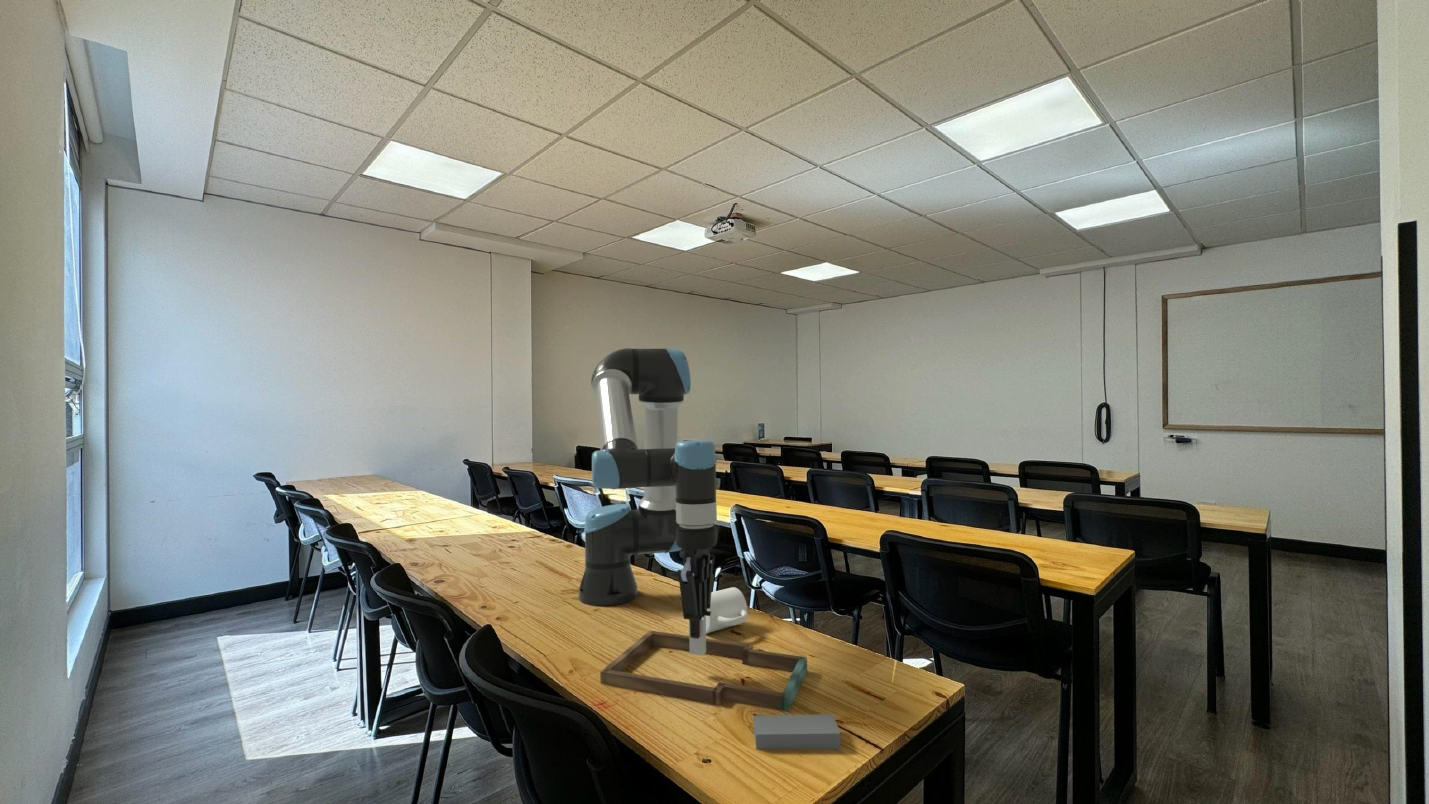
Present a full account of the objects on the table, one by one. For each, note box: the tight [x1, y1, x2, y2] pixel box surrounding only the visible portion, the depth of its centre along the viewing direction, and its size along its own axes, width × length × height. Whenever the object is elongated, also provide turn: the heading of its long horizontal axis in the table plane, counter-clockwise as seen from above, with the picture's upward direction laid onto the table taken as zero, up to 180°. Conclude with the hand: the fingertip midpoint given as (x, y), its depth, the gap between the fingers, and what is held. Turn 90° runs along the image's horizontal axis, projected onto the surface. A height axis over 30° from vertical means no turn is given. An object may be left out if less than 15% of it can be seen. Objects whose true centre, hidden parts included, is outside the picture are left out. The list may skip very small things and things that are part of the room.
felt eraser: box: [753, 714, 842, 750], centre depth 84 cm, size 12×5×3 cm, turn 90°
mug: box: [705, 586, 749, 634], centre depth 126 cm, size 12×10×8 cm
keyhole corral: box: [599, 630, 808, 712], centre depth 105 cm, size 19×33×2 cm, turn 70°
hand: (697, 652), depth 106 cm, fingers closed
